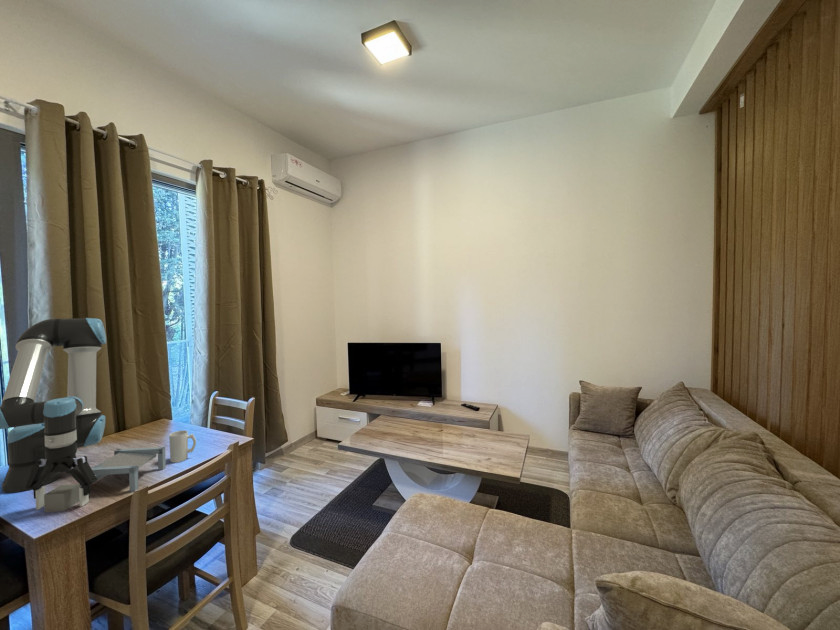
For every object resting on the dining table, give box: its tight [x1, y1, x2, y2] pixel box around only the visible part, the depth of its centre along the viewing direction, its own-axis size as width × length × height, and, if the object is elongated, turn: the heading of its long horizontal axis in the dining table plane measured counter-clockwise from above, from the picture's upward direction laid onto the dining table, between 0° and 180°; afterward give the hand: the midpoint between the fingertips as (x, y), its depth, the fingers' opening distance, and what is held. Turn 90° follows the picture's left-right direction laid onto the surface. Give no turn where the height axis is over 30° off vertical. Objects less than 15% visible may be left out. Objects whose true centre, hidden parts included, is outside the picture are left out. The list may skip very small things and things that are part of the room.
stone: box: [43, 483, 80, 513], centre depth 116 cm, size 6×6×6 cm
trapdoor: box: [92, 452, 157, 470], centre depth 132 cm, size 14×14×1 cm
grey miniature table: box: [80, 446, 166, 493], centre depth 133 cm, size 18×18×9 cm
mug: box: [168, 430, 197, 463], centre depth 151 cm, size 10×7×12 cm, turn 109°
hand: (62, 505), depth 116 cm, fingers open, 12 cm apart
